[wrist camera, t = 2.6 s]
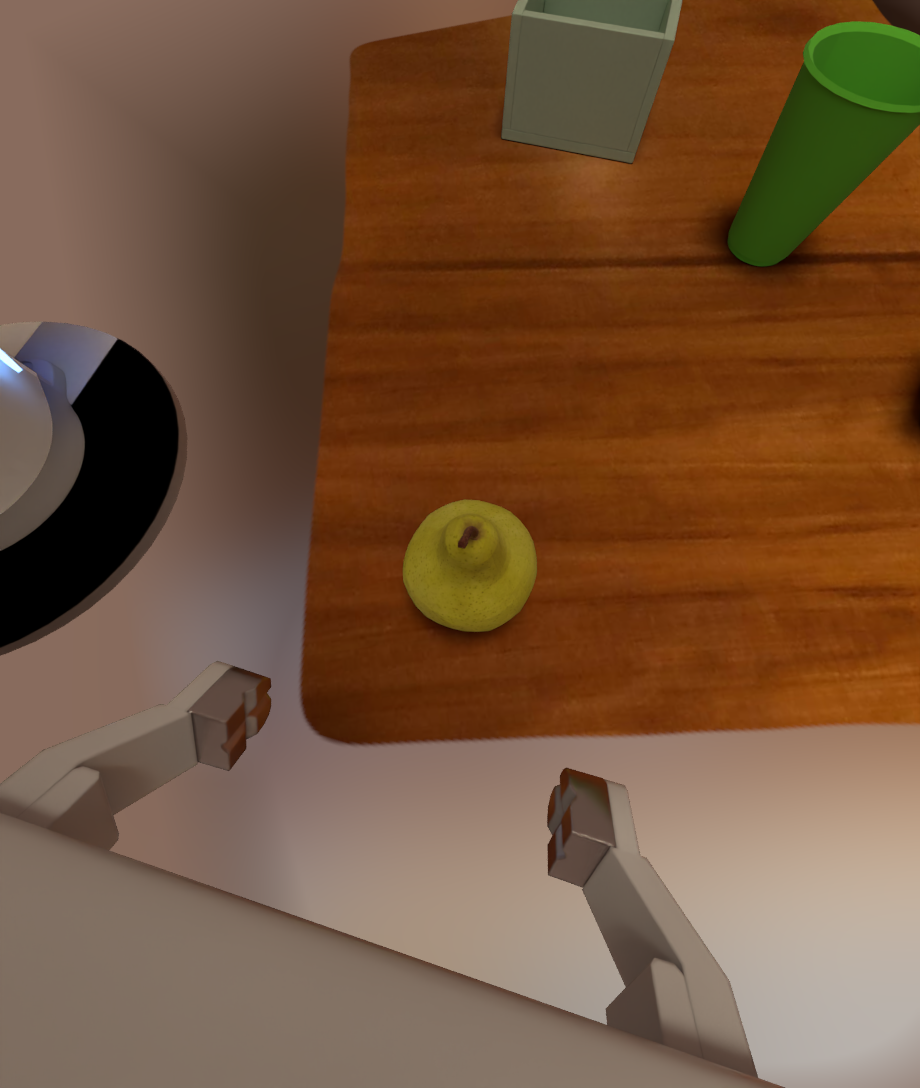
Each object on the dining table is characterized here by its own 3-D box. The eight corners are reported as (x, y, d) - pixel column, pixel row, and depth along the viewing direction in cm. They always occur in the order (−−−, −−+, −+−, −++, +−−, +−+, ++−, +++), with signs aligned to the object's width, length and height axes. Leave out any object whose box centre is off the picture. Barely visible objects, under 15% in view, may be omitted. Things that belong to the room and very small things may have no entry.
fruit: (447, 511, 27) (442, 384, 15) (542, 560, 26) (612, 463, 14) (391, 603, 25) (338, 535, 13) (491, 660, 24) (526, 638, 12)
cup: (736, 295, 33) (865, 118, 23) (684, 220, 36) (778, 32, 26) (831, 272, 34) (996, 92, 24) (773, 201, 37) (899, 11, 27)
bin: (501, 138, 39) (512, 12, 32) (529, 66, 43) (544, -60, 36) (632, 163, 38) (674, 40, 31) (648, 87, 42) (689, -38, 35)
